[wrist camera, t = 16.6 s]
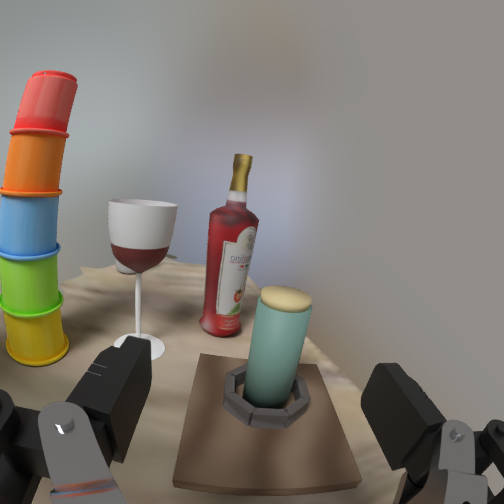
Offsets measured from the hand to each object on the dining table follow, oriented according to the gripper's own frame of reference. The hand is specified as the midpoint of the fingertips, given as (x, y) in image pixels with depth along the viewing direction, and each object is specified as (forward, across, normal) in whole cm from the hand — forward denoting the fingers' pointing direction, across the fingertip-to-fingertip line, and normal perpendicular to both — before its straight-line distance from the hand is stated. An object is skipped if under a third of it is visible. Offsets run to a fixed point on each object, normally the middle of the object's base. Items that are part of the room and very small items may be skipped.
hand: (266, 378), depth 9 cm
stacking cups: (+18, +27, +18) cm, 37 cm away
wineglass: (+25, +13, +18) cm, 33 cm away
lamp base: (+14, -4, +17) cm, 22 cm away
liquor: (+34, +2, +18) cm, 38 cm away
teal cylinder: (+15, -4, +16) cm, 22 cm away
